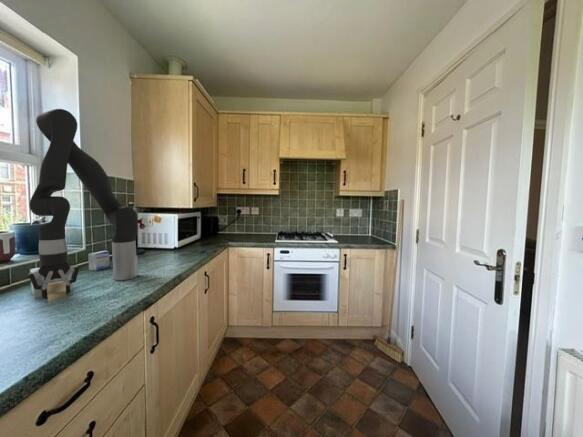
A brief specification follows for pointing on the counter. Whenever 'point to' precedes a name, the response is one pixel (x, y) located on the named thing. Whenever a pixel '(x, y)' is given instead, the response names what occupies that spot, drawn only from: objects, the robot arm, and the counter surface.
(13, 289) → the counter surface
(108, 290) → the counter surface
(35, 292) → the money box
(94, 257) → the medicine box
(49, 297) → the tan brown box
